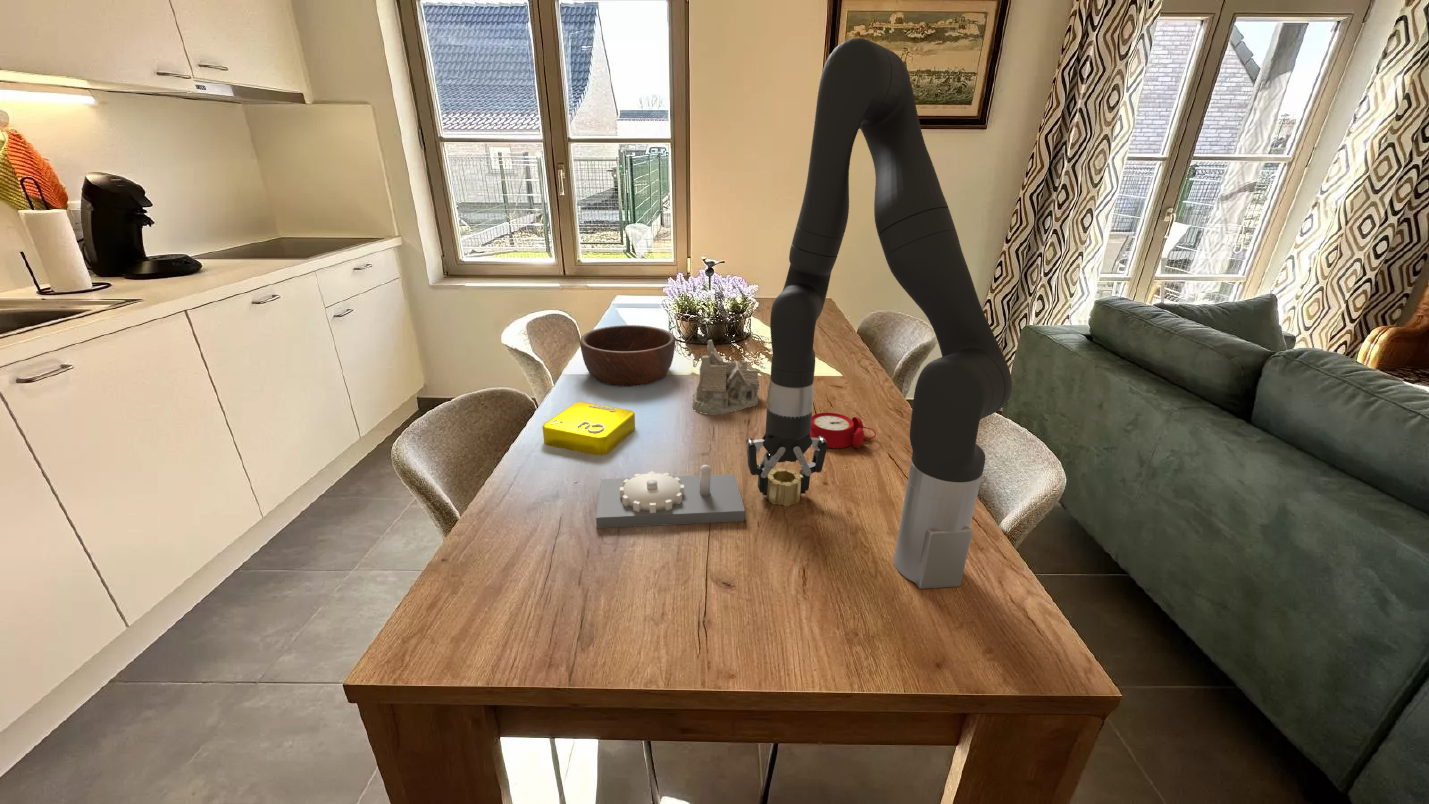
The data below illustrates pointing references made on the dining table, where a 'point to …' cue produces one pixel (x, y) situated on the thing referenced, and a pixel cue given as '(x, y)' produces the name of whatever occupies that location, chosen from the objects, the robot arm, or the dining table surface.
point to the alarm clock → (838, 430)
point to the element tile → (589, 428)
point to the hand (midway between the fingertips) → (783, 492)
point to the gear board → (669, 500)
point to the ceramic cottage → (724, 385)
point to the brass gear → (784, 486)
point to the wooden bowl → (628, 354)
